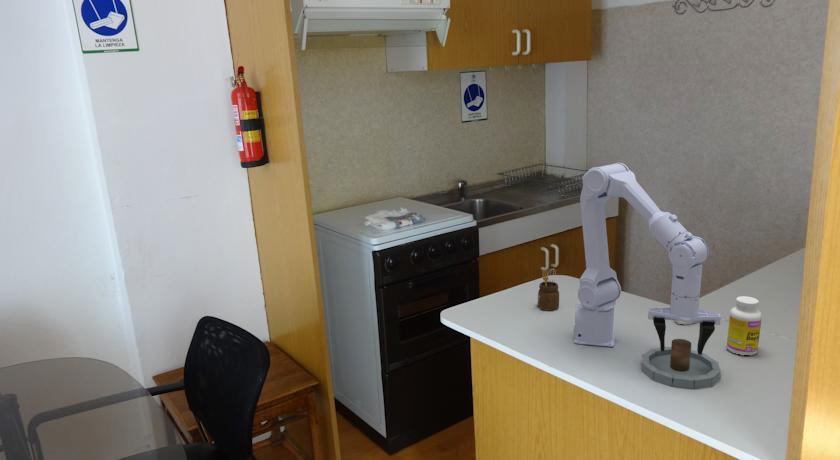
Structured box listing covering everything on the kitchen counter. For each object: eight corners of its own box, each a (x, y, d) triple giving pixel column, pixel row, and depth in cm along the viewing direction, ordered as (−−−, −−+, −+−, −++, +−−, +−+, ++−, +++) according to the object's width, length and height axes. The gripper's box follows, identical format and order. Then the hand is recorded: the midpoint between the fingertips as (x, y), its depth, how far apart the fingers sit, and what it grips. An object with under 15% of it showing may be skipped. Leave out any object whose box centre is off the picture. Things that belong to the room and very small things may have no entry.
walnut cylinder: (670, 370, 141) (672, 345, 140) (669, 362, 145) (671, 338, 144) (690, 372, 140) (692, 347, 139) (688, 364, 144) (690, 339, 142)
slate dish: (643, 383, 138) (643, 375, 137) (640, 351, 152) (640, 344, 152) (724, 392, 133) (725, 383, 133) (713, 358, 148) (714, 350, 147)
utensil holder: (562, 305, 182) (563, 265, 179) (554, 313, 177) (555, 272, 174) (542, 302, 186) (543, 262, 183) (534, 309, 180) (534, 269, 177)
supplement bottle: (745, 359, 147) (750, 307, 144) (720, 348, 153) (724, 298, 150) (764, 352, 150) (769, 301, 147) (738, 342, 156) (743, 292, 153)
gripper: (650, 297, 136) (646, 355, 140) (725, 302, 132) (719, 362, 136) (649, 286, 143) (645, 342, 147) (719, 290, 139) (714, 348, 142)
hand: (680, 351), depth 142 cm, fingers open, 7 cm apart
